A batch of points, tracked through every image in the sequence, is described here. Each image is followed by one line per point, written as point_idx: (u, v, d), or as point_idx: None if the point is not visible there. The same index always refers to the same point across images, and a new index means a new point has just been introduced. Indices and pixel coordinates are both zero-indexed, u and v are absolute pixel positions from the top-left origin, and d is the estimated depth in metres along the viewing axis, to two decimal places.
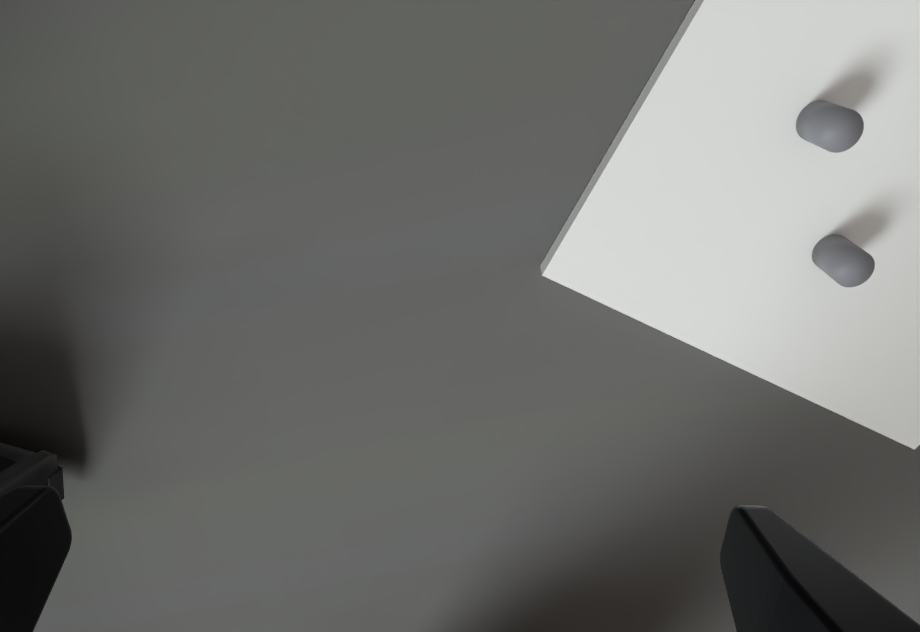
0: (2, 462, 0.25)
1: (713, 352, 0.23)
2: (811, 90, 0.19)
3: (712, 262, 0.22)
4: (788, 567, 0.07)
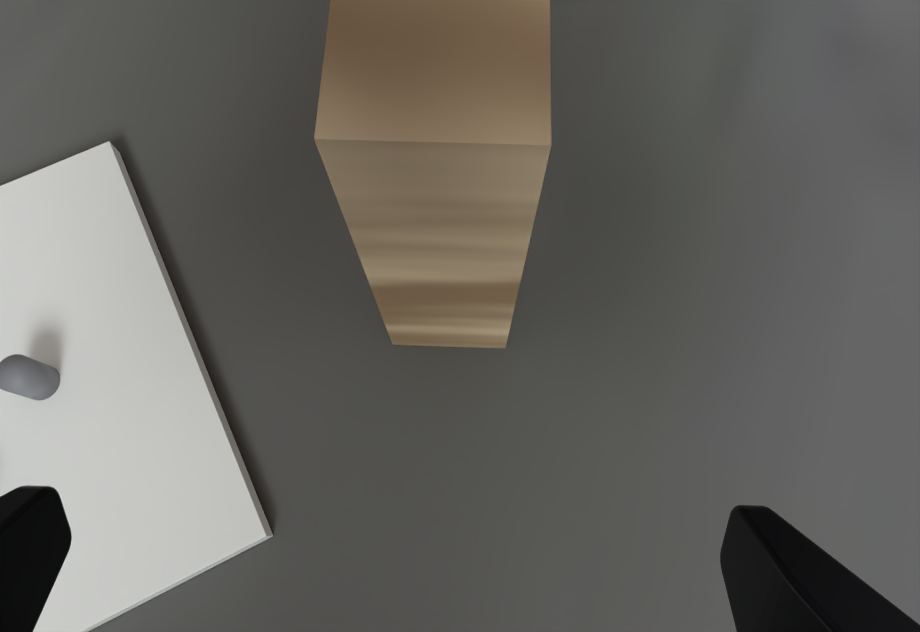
0: None
1: None
2: None
3: None
4: (788, 567, 0.07)
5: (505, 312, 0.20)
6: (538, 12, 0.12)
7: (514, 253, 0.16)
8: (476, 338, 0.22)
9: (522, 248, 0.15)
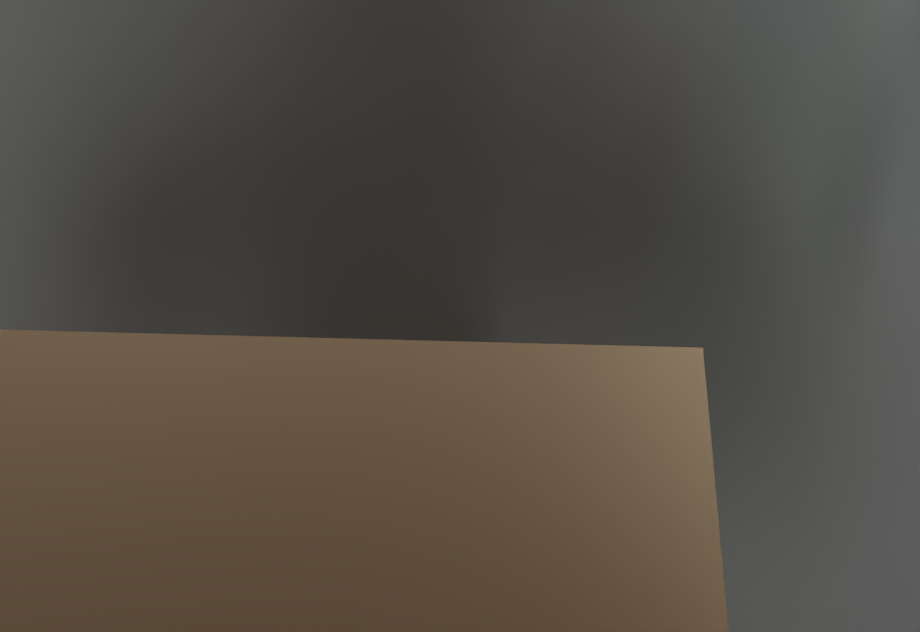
0: None
1: None
2: None
3: None
4: None
5: None
6: None
7: None
8: None
9: None
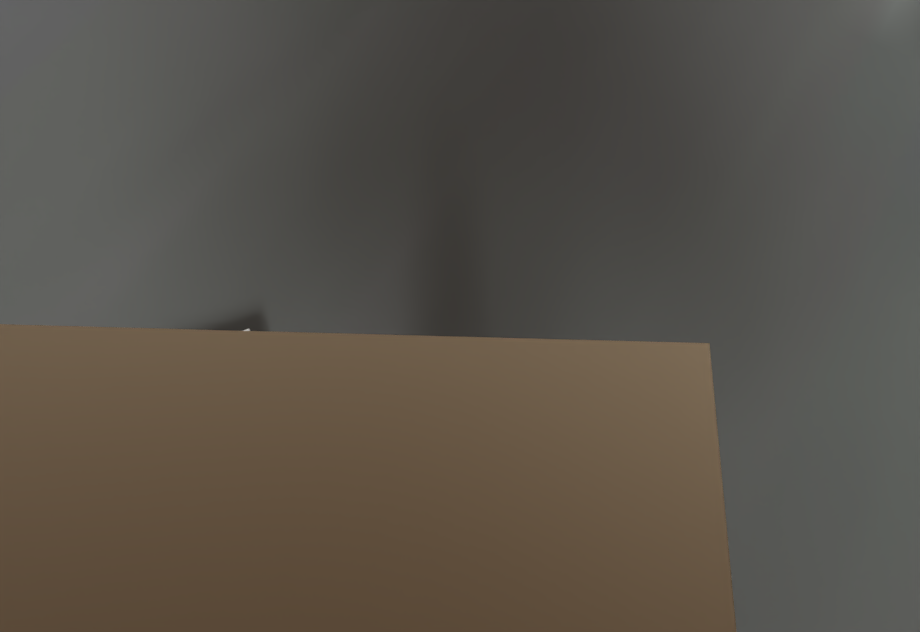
0: None
1: None
2: None
3: None
4: None
5: None
6: None
7: None
8: None
9: None
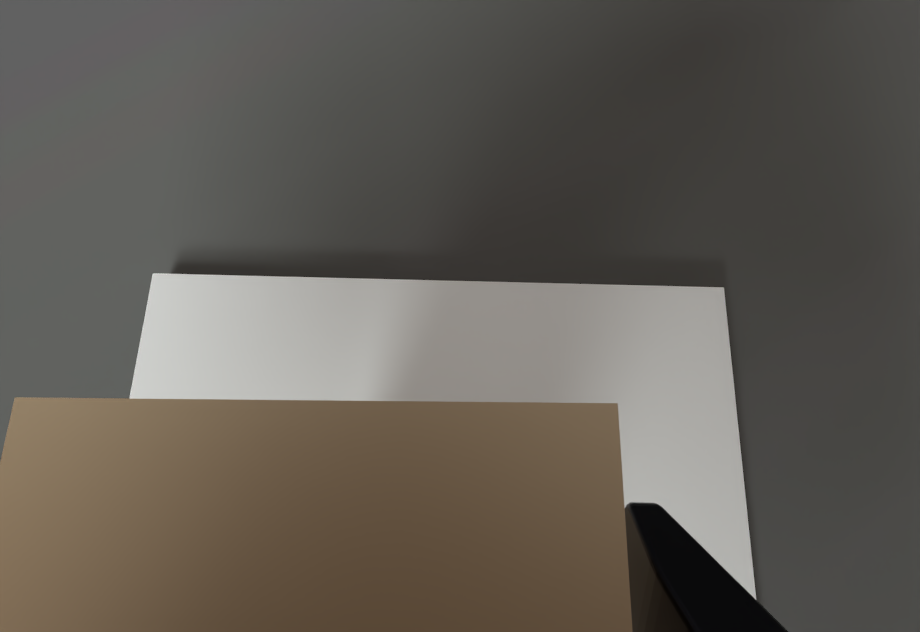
0: None
1: None
2: None
3: None
4: (662, 563, 0.07)
5: None
6: (596, 607, 0.04)
7: None
8: None
9: None
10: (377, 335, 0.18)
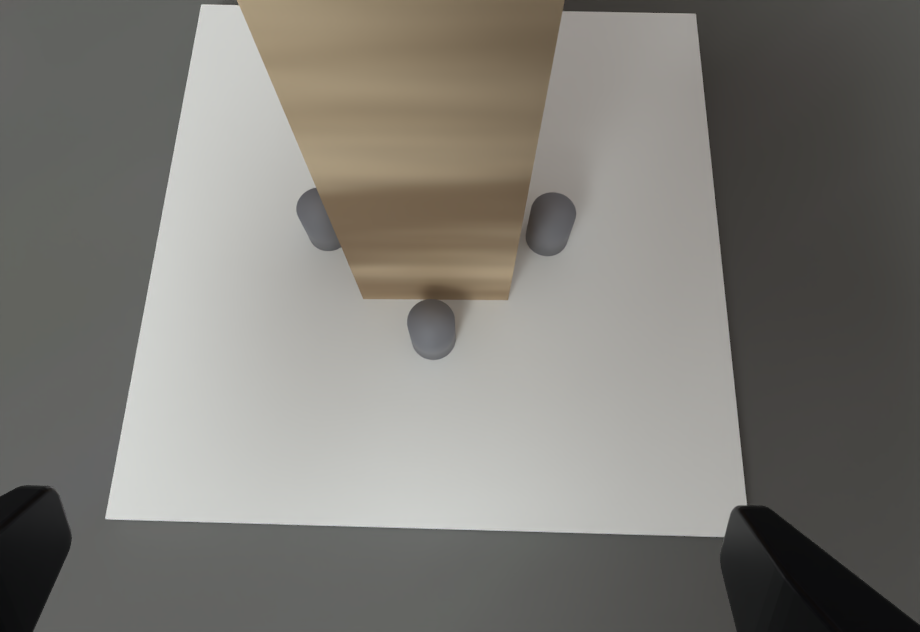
0: None
1: (377, 522, 0.17)
2: None
3: (309, 409, 0.17)
4: (788, 567, 0.07)
5: (508, 238, 0.15)
6: None
7: (524, 118, 0.10)
8: (470, 284, 0.17)
9: (536, 106, 0.10)
10: None
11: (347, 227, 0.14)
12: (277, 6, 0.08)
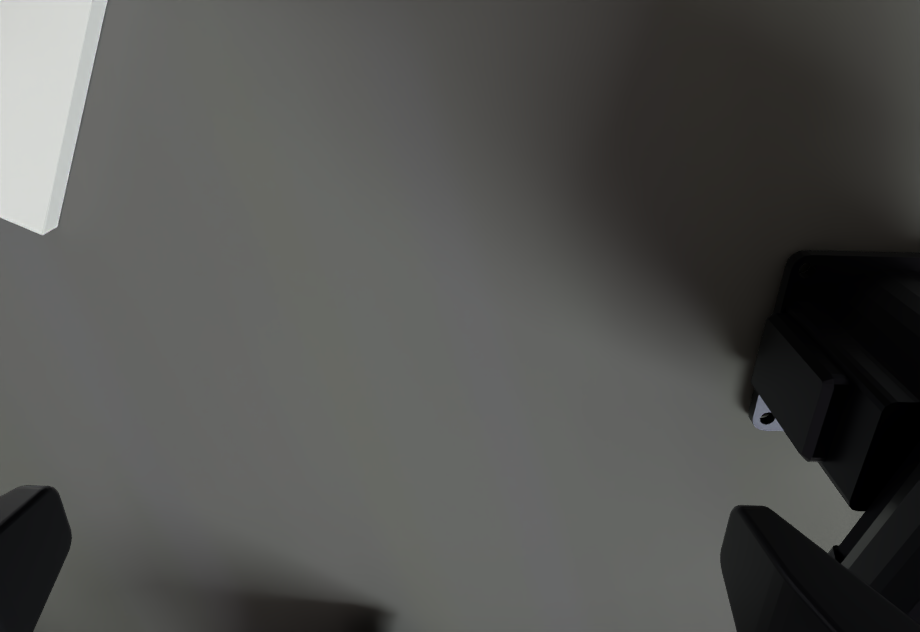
0: None
1: (84, 12, 0.17)
2: None
3: None
4: (788, 567, 0.07)
5: None
6: None
7: None
8: None
9: None
10: None
11: None
12: None
